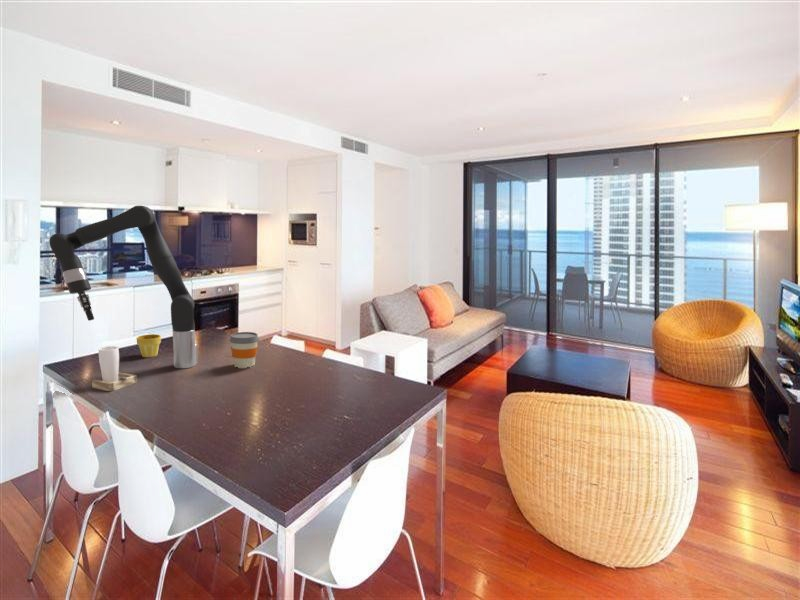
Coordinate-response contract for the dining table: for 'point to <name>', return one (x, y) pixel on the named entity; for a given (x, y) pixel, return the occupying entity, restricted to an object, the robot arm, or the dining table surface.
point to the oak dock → (122, 382)
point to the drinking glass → (109, 363)
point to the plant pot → (149, 344)
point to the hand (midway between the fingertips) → (91, 320)
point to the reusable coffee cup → (244, 348)
